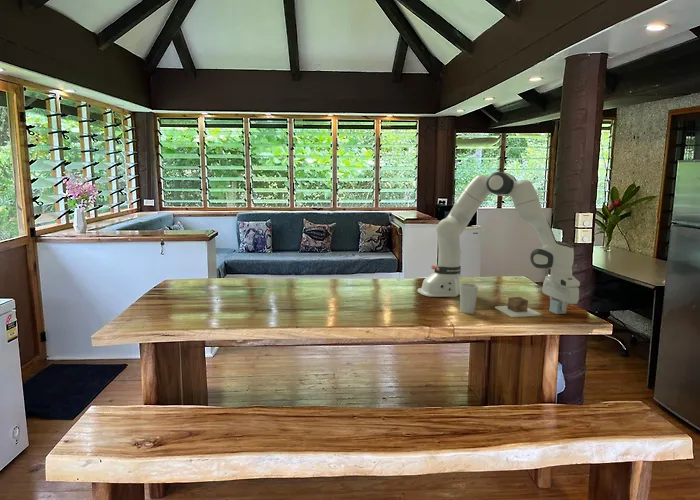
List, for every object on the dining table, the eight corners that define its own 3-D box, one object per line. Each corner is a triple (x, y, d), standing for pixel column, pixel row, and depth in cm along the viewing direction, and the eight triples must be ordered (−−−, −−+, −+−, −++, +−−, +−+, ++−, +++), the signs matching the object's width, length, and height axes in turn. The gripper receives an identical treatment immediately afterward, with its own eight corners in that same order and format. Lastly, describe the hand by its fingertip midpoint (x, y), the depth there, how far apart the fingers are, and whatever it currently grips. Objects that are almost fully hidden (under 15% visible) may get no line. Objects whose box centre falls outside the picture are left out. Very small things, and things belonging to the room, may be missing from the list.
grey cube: (556, 314, 212) (557, 303, 211) (549, 310, 217) (550, 300, 216) (566, 313, 213) (567, 302, 213) (558, 310, 218) (559, 299, 217)
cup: (473, 315, 209) (474, 288, 207) (455, 312, 213) (457, 285, 211) (478, 310, 215) (480, 284, 213) (461, 307, 220) (463, 282, 218)
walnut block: (515, 312, 211) (516, 301, 210) (507, 308, 217) (508, 297, 216) (527, 311, 213) (528, 300, 212) (519, 307, 218) (520, 296, 217)
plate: (512, 317, 206) (512, 315, 206) (495, 308, 220) (495, 306, 220) (540, 315, 210) (540, 313, 210) (521, 306, 223) (522, 304, 223)
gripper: (540, 273, 222) (537, 302, 224) (570, 284, 202) (567, 315, 205) (551, 273, 223) (549, 301, 226) (582, 283, 204) (579, 314, 206)
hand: (558, 308), depth 215 cm, fingers closed on grey cube, 5 cm apart
